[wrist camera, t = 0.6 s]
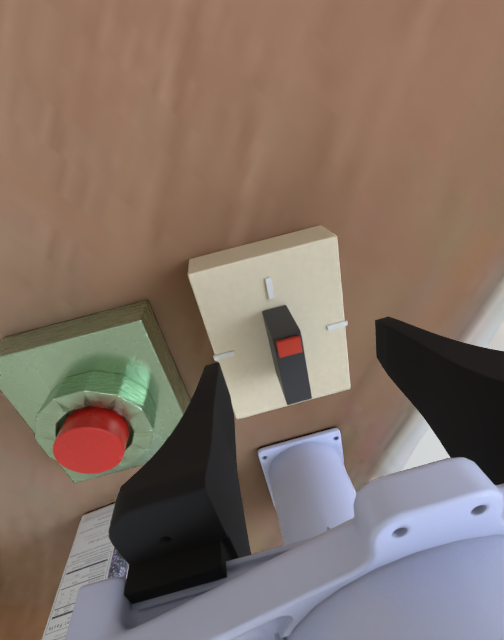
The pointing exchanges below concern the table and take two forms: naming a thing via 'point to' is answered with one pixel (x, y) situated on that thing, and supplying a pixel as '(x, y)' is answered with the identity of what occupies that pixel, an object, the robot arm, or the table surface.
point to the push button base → (96, 379)
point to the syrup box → (85, 568)
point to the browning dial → (287, 354)
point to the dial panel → (266, 293)
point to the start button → (91, 440)
